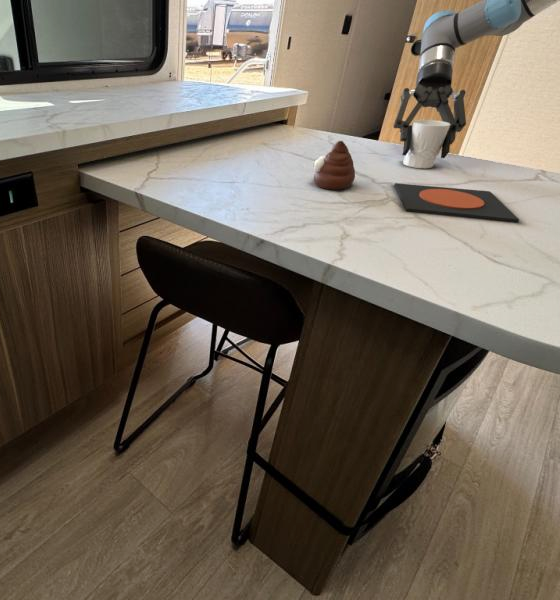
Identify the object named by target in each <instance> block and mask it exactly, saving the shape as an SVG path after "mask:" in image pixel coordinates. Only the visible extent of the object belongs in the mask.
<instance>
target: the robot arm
mask: <svg viewBox="0 0 560 600" xmlns="http://www.w3.org/2000/svg"><path fill="white" fill-rule="evenodd" d="M558 2H560V0H480V1H479V2H476V3H474V4H473V5H470V6H469V7H467V8H465V9H463V10H461V11H459V12H456V11H454V10H452V9H446V10H443V11H441V10H440V11H437V12H436V13H435V12H434V13H433V14H431V16H430V17H428V19H427V20H426V22H425V24H424V26H423V31H422V34H421V38H420V39H421V40H420V54H419V60H418V61H419V62H418V67H417V75H416V82H415V83H416V84H415V87H414V89H410V88H409V87H405V88H404V89H403V90H402V92H401V95H400V105H399V108H398V111H397V114H396V117H395V120H394V122H393V128H394V129H399V132H400V137H399V140H400V142H403V148H402V156H404V157H405V156H406V154H407V153H408V151H409V150H410V142H411V134H412V125H411V123H413V121H414V118H416V116H417V115H418V113H419V111H420V110H421V108H429V107H430V108H433V109H434V108H435V109H436V110H435V111H436V112H437V113H438V114H439V116H440V118H441V121H443V122H447V123H450V124H451V125H450V127H449V130H448V132H447V135H446V137H445V140H444V142H443V145H442V147H441V151H440V159H445V158H446V157H447V155H448V154H449V153H450V149H451V148H450V147H451V145H452V144H454V142H455V140H456V136H457V135H456V133H461V131H463V129H464V128H465V127H466V125H467V120H466V108H465V99H464V98H465V95H466V90H465V89H461V90H460V91H457V90H456V91H455V90H454V89H453V87H452V82H453V72H454V65H455V55H456V49H457V48H460V47H462V46H465V45H467V44H469V43H471V42H473V41H474V42H475V40H478V39H480V38H483V37H488V36H494V37H504V36H507V35H509V34H511V33H514V32H515V31H516V30H518V29H519V28H520V27H521V26H522V25H523V24H524V23H526V22H527V21H529V20H531V19H533V18H534V17H535V16H537V15H538V14H539V13H541V12H543V11H545V10H547V9H548V8H550V7H551V6H553V5H555V4H556V3H558ZM412 97H413V98H414V99H415V100H416V102H417V103H416V104H415V106H414V107H413V109H412V110H411V112H410V113H409V115H408V116H407V117H406V119H405V120H403V119H404V115H405V113H406V109H407V106H408V104H409V100H411V99H412ZM449 98H451V102H452V103H453V111H452V109H451V107H450V104H449Z"/></svg>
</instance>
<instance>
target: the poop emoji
mask: <svg viewBox="0 0 560 600" xmlns="http://www.w3.org/2000/svg"><path fill="white" fill-rule="evenodd" d="M313 169H314V172H315V173H314V174H313V182H314V184H315V186H317V188H318V187H319V188H321V189H325V190H330V191H342V190H345V189H347V188H349V187H350V186H351V185H352V184H353V182H354V181H355V179H356V170H355V166H354V160H353V158H352V154H351V153H350V152H349V148H348V146H347V145H346V144H345V143H344V141H343V140H337V141H336V142H335V143H334V144H333V146H332V148H331V150H330V151H329V152H328V153H327V154H326V155H321V156H319V158H318V159H316V160H314V162H313Z"/></svg>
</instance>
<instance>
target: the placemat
mask: <svg viewBox="0 0 560 600" xmlns="http://www.w3.org/2000/svg"><path fill="white" fill-rule="evenodd" d="M393 186H394V188H395V190H396V193H397V195H398V197H399V199H400V201H401V203H402V205H403V208H404V211H405V212H412V213H420V214H421V213H422V214H432V215H439V216H440V215H441V216H449V217H461V218H470V219H478V220H481V219H482V220H490V221H498V222H499V221H500V222H501V221H502V222H507V223H508V222H509V223H519V222H520V219H519V218H518V217H517V216H516V215H515V213H514V212H512V211H511V210H510V208H508V207H507V206H506V205H505V204H504V203H503V202H501V200H500V199H499V198H498V197H497V196H495V195H494V194H493V193H492V191H489V190H478V189H465V188H457V187H456V188H454V187H444V186H433V185H432V186H431V185H423V184H422V185H421V184H411V183H398V182H395V183H394V184H393Z"/></svg>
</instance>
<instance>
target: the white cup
mask: <svg viewBox="0 0 560 600" xmlns="http://www.w3.org/2000/svg"><path fill="white" fill-rule="evenodd" d="M450 125H451V124H450V123H447V122H443V121H442V120H435V119H415V120H412V134H411V142H410V150H409V151H408V153H407V154H406V156H405V155H404V157H403V161H402V163H403V165H404V166H407V167H410V168H415V169H431V168H433V167H434V166H435V163H436V160H437V157H438V156H439V154H440V153H441V150H442V145H443V142H444V140H445V137H446V135H447V132H448V130H449V127H450Z"/></svg>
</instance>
